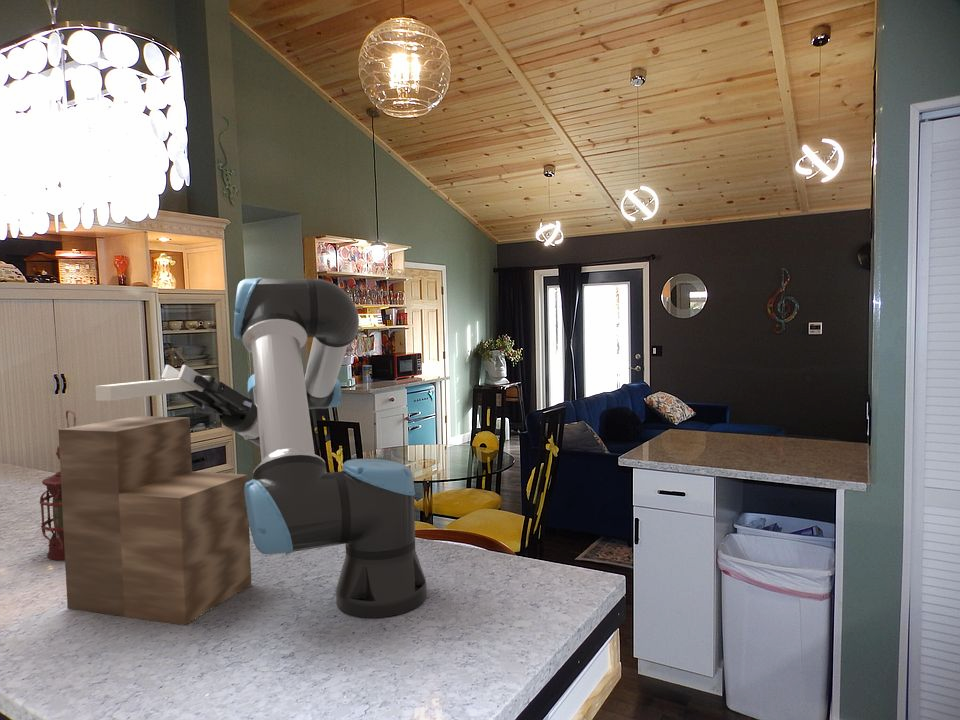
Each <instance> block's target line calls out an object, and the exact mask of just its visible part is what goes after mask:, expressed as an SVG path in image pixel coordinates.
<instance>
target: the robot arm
mask: <svg viewBox="0 0 960 720" xmlns="http://www.w3.org/2000/svg"><path fill="white" fill-rule="evenodd" d="M235 293H236V296H235V305H234V308H235V309H234V319H233V320H234V321H233V336H234V338H235V339H237V340H240V341H242V344H243V347H244V348H245V349H246V350H247V351H248V352H249V353H251V354H252V362H253V363H252V364H253V374H252V375H251V376H249V378H248V380H247V397H246V396H245V395H243V394H241V393H240V392H238V391H237V390H235V389H233V387H230V386H229V385H227V384H225V383H224V382H222V381H217V382H215V379H216V377H213V376H211V377H209V379H208V380H207V379H206V378H204V377H203V376H204V375H202V374H200V373H199V372H197V371H195V370H194V369H192V368H191V367H190V366H188V365H186V364H182V365H181V368H180V370H178V369H176V368H175V367H173V366H171V365H170V364H165V367H164V369H163V372H162V374H161V379H170V378H179V379H181V380H183V381H184V382H186V383H187V384H189V385H190V386H192V387H193V388H195V389H197V390H192V391H185V392H177V393H176V394H177V395H178V396H180V397H181V398H183V399H184V400H186V401H187V402H189V403H191V404H192V405H193V406H195V408H196V409H197V410H199V411H203V410H204V409H205V408H206V409H209V410H210V411H211V412H213V414H216V415H218V418H219V421H220V423H221V424H222V425H223V426H224V427H226V428H227V429H230V430H231V431H233V432H235V433H237V434H238V435H240V436H242V437H243V439H244V440H245V441H247V440H248V441H250V442H251V443H252V444H254V445H256V446H257V447H259V448H260V456H261V457H260V458H261V462H260V463H259V464H258V465H257V466H255V468H254V469H253V472H252V479H250V480H248V482H247V483H246V484H245V487H244V493H245V502H246V507H247V516H248V521H249V531H250V534H251V538H252V540H253V544H254V546H255V549H256V550H257V551H258V552H260V553H261V554H263V555H277V554H278V555H279V554H286V555H288V554H292V553H294V552H300V551H306V550H312V549H319V548H325V547H333V546H339V545H345V558H344V561H343V564H342V568H341V571H340V575H339V577H338V578H339V579H338V581H337V584H336V588H335V589H336V590H335V601H336V605H337V608H338V609H339V610H340V611H341V612H343V613H345V614H349V615H351V616H355V617H362V618H386V617H391V616H397V615H400V614H404V613H407V612H409V611H413V610H414V609H416V608H418V607H420V606H421V605H422V604H423V603H424V602H425V601H426V599H427V593H428V590H427V589H428V587H427V580H426V576H425V573H424V570H423V569H422V565H421V563H420V562H421V561H420V559H419V557H418V555H417V551H416V530H415V529H416V522H415V519H416V518H415V495H416V491H415V483H414V475H413V472H412V469H410V467H408V466H407V465H406V464H402V463H400V462H397V461H392V460H387V459H376V458H353V459H349V460H346V461H344V462H343V465H342V467H341V471H334V472H333V471H332V472H327V465H326V461H325V460H324V459H323V458H322V457H321V456H320V455H317V454H315V453H316V452H315V446H314V439H313V432H312V425H311V423H312V422H311V417H310V410H313V409H315V410H316V409H329V408H337V407H338V406H340V404H341V401H342V400H341V398H342V389H341V388H342V387H341V383H340V380H339V379H338V376H339V375H340V371H341V368H342V364H343V361H344V358H345V355H346V352H347V349H348V346H349V345H351V344H352V343H353V341H355V339H356V337H357V335H358V331H359V326H360V319H359V317H360V316H359V312H358V309H357V306H356V304H355V302H354V301H353V299H352V298H351V297H350V295H349V294H348V293H347V292H346V291H345V290H343V288H341V287H340V286H338V285H337V284H334V283H333V282H331V281H329V280H325V279H322V278H321V279H320V278H277V277H276V278H269V277H268V278H267V277H265V278H264V277H263V276H261V277H256V278H244V279H242V280H241V281H239V283H238V284H237V287H236V292H235ZM308 338H313V339H312V343H311V347H310V353H309V356H308V360H307V365H306V369H305V372H304V366H303V359H302V351H301V349H302V348H303V347H305V345H306V343H307V340H308Z"/></svg>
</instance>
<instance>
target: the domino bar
mask: <svg viewBox="0 0 960 720" xmlns="http://www.w3.org/2000/svg"><path fill="white" fill-rule="evenodd" d="M202 376H203V377H204V378H206V379H207V380H208V379H209V377H212V376H211V375H202ZM94 386H95V401H96V402H97V401H99V402H102V401H103V402H113V401H122V400H127V399H128V400H130V399H135V398H136V399H138V398H144V397H153V396H160V395H167V394H168V395H169V394H177V392H185V391H192V390H197V389H195V388H193V387H192V386H190V385H189V384H187V383H186V382H184V381H183V380H181V379H179V378H170V379H163V378H161V379H150V380H142V381H130V382H122V383H121V382H120V383H111V384H102V385H94Z"/></svg>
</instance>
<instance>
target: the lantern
mask: <svg viewBox="0 0 960 720" xmlns="http://www.w3.org/2000/svg"><path fill="white" fill-rule="evenodd" d="M69 413H71V414H72V416H73V427H76V426H77V416H76V414H75V413H76V412H75V411H73V410H72V409H67V410H66V412H65V422H66V428H70V424H69V423H70V422H69ZM56 448H57V449H56V451H55V455H56V456H57V459H58V460H59V461H60V452H59V445H58V446H57V447H56ZM41 484H42V485H44V486H45V487H46V491H44V492H43V493H42V494H41V495H40V498H39V504H40V513H41V525H40V528H41V532H42V536H43V537H44V538H45V539H46V540H48V553H47V558H48V559H50V560H52V561H65V549H64V530H63V511H62V491H61V472H60V471H57V472H56V473H55V474H52V475H50V476H49V477H46V478H44V479H42V482H41ZM45 494H46V496H45ZM51 498H52V502H50V499H51ZM44 506H46V508H47V509H46V511H47V520H45V511H44ZM50 507H52V518H51V511H50ZM52 522H53V527H52ZM46 525H47V526H48V527H47V526H46ZM46 531H49V532H50V533H51V538H49V537H48V536H47V534H46Z"/></svg>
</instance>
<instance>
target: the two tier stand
mask: <svg viewBox="0 0 960 720" xmlns="http://www.w3.org/2000/svg"><path fill="white" fill-rule="evenodd" d="M57 431H58V446H59V452H60V460H59V466H60V467H59V468H60V471H59V472H61V491H62V511H63V530H64V549H65V560H64V563H65V565H64V566H65V586H66V587H65V588H66V604H67V605H66V606H67V609H72V610H76V611H77V610H79V611H85V612H90V611H91V612H92V613H97V612H99V614H104V613H106V614H105V615H112V616H118V617H119V616H120V617H125V618H132V619H139V620H145V621H153V622H161V623H167V624H173V625H180V624H184V625H183V626H187V625H188V624H187V623H189V622H190V623H192V622H193V621H195V620H196V619H195V618H197V617H198V616H200V615H201V614H203V613H205V612H206V613H208V612H209V611H208V610H210V609H211V608H213V607H214V608H216V607H217V606H216V605H218V604H219V605H221V604H222V603H224V602H225V600H226V601H227V600H228V598H229V599H231V598H232V597H233V595H234V596H235V595H237V594H238V592H239V591H240V592H242V591H244V590H245V589H247V588H249V587H250V586H251V585H252V565H251V564H252V563H251V562H252V561H251V560H252V559H251V542H250V541H251V539H250V536H251V535H250V534H251V531H250V526H249V521H248V516H247V507H246V502H245V493H244V487H245V484H246V483H247V482H249V479H248V474H244V473H243V474H242V473H241V474H240V473H225V472H223V473H222V472H208V471H207V472H206V471H194V470H193V466H192V465H193V463H192V462H193V461H192V440H191V439H192V437H191V435H192V434H191V417H186V416H185V417H184V416H183V417H180V416H149V415H147V416H146V415H138V416H137V415H136V416H131V417H130V416H129V417H124V418H119V419H118V418H117V419H113V420H108V421H102V422H101V421H100V422H95V423H89V424H83V425H76V427H74V426H69V428H67V427H65V428H58V430H57ZM246 587H247V588H246ZM241 590H242V591H241ZM240 592H239V593H240ZM230 597H231V598H230ZM223 601H224V602H223ZM221 602H222V603H221ZM220 603H221V604H220ZM219 605H218V606H219ZM215 606H216V607H215ZM214 608H213V609H214ZM211 610H212V609H211ZM211 610H210V611H211ZM207 611H208V612H207ZM206 613H205V614H206ZM203 615H204V614H203ZM200 617H201V616H200ZM198 618H199V617H198ZM198 618H197V619H198ZM194 619H195V620H194ZM191 621H192V622H191ZM190 623H189V624H190ZM186 624H187V625H186Z"/></svg>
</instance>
